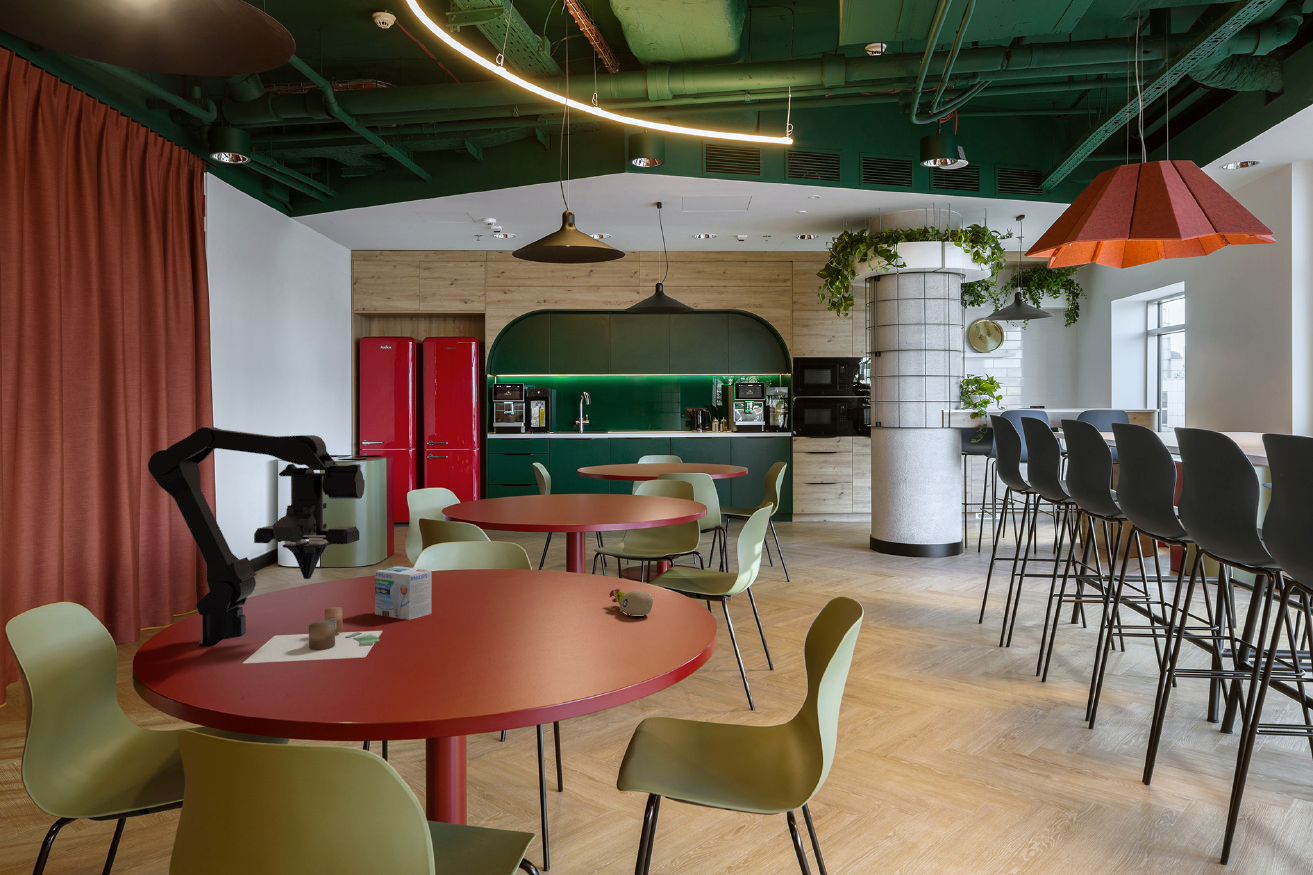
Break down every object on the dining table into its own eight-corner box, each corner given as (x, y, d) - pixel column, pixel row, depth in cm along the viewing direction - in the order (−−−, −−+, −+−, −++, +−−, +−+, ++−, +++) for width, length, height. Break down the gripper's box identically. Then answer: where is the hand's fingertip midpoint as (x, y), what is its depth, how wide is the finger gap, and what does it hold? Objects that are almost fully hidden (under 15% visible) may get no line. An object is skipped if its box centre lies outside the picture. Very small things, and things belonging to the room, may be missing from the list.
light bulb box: (373, 619, 166) (373, 570, 166) (397, 613, 172) (397, 565, 172) (409, 625, 161) (409, 574, 161) (433, 618, 167) (432, 569, 167)
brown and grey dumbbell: (332, 648, 139) (331, 622, 139) (306, 649, 139) (306, 623, 139) (347, 630, 152) (347, 606, 152) (323, 631, 151) (323, 607, 151)
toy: (597, 593, 178) (625, 605, 165) (621, 575, 181) (651, 586, 168) (608, 614, 179) (637, 628, 166) (632, 596, 182) (663, 608, 169)
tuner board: (242, 670, 131) (242, 662, 131) (274, 641, 149) (274, 634, 149) (370, 663, 135) (370, 655, 135) (387, 636, 153) (387, 629, 153)
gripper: (235, 502, 143) (236, 586, 143) (332, 503, 141) (332, 588, 142) (270, 497, 154) (271, 575, 154) (360, 498, 153) (360, 576, 153)
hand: (307, 578), depth 150 cm, fingers closed
